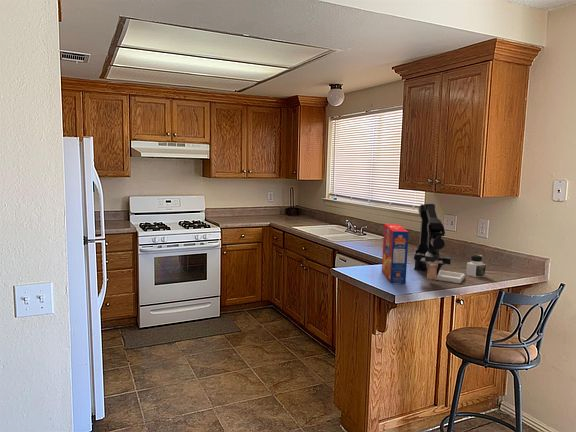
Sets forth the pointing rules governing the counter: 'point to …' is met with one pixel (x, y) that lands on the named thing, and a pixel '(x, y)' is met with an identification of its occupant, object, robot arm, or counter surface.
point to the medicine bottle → (476, 266)
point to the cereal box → (395, 253)
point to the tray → (450, 276)
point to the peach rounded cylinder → (432, 271)
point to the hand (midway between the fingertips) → (432, 274)
